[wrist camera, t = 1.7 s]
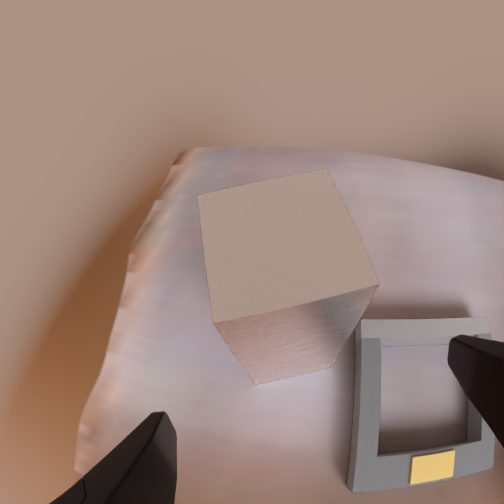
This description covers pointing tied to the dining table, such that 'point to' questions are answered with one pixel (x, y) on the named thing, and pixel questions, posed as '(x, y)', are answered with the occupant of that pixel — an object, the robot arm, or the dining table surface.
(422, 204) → the dining table surface
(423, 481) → the plate
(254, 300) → the rectangular block post
